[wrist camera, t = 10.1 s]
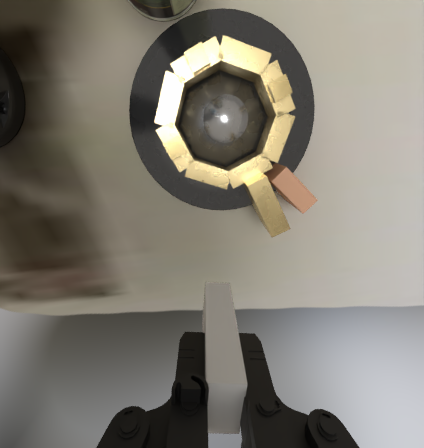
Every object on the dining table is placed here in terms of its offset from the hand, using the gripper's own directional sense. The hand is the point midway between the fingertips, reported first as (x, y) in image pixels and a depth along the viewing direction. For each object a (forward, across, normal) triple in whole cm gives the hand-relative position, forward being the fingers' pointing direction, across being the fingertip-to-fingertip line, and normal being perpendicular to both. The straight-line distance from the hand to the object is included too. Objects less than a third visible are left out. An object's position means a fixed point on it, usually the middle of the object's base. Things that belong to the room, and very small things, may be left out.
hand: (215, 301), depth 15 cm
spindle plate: (+24, +1, +12) cm, 27 cm away
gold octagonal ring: (+22, +3, +9) cm, 24 cm away
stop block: (+24, +10, +4) cm, 26 cm away
